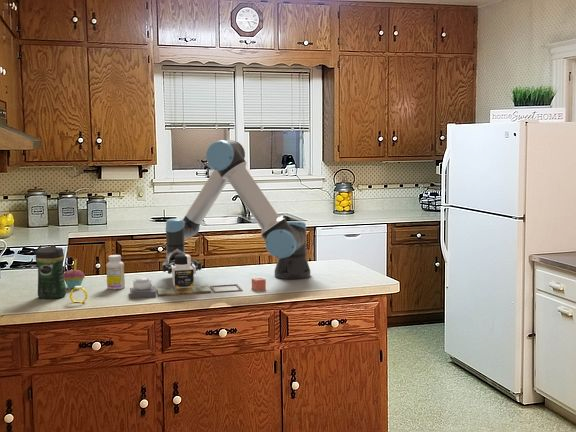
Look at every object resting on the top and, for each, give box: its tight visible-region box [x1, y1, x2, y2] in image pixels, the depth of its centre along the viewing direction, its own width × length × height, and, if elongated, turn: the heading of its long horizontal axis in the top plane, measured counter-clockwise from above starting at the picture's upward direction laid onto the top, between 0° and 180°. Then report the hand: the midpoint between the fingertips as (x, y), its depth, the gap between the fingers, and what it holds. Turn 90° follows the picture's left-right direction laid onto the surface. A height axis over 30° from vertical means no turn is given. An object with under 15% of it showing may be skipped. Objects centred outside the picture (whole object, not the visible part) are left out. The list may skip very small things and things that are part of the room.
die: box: [251, 277, 267, 292], centre depth 255 cm, size 4×4×4 cm
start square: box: [209, 283, 243, 294], centre depth 256 cm, size 11×11×1 cm
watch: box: [69, 285, 89, 304], centre depth 236 cm, size 6×3×6 cm, turn 88°
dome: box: [132, 277, 153, 290], centre depth 247 cm, size 7×7×3 cm
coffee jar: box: [35, 246, 67, 300], centre depth 245 cm, size 10×8×19 cm
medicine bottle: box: [172, 253, 195, 288], centre depth 251 cm, size 7×7×12 cm
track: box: [156, 285, 212, 297], centre depth 252 cm, size 20×10×1 cm, turn 105°
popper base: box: [129, 286, 157, 300], centre depth 247 cm, size 9×9×2 cm
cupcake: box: [63, 259, 86, 289], centre depth 260 cm, size 9×8×12 cm
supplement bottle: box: [105, 254, 126, 291], centre depth 259 cm, size 7×7×13 cm
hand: (184, 271), depth 246 cm, fingers closed on medicine bottle, 7 cm apart
